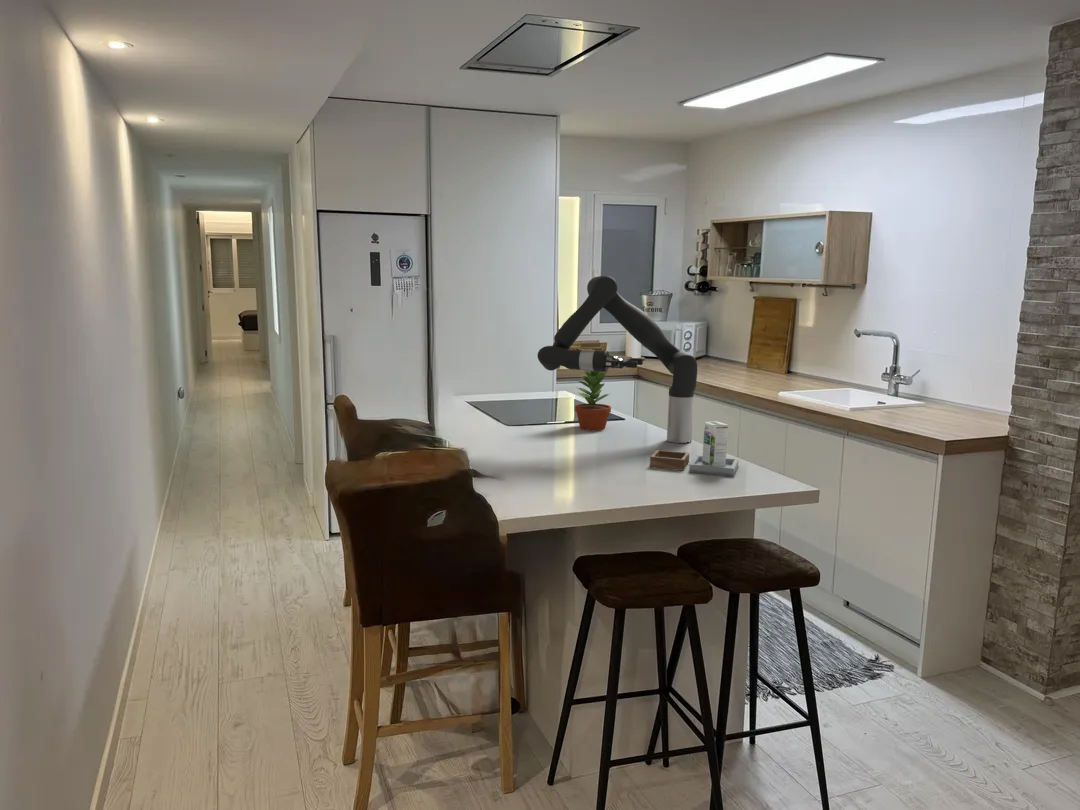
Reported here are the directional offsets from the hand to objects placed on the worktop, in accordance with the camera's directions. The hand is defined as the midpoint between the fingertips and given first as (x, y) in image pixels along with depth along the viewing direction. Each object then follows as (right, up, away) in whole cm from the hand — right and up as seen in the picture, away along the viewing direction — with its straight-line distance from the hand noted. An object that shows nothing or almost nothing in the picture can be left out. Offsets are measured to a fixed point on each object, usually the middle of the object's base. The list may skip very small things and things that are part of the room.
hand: (639, 363), depth 278 cm
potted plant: (-13, -24, +51) cm, 57 cm away
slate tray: (+22, -35, -14) cm, 44 cm away
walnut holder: (+9, -34, -9) cm, 36 cm away
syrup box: (+22, -35, -14) cm, 43 cm away
